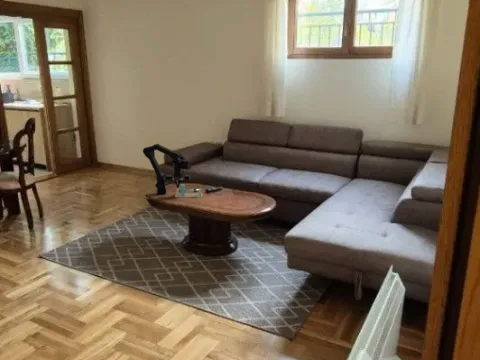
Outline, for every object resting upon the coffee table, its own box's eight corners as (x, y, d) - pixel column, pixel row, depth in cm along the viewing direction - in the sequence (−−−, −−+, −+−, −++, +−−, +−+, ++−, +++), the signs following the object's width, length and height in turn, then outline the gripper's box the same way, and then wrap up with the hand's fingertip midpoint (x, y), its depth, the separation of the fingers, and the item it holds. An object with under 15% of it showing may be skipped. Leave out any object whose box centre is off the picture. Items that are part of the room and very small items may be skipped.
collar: (180, 194, 320) (180, 186, 318) (180, 192, 325) (180, 184, 323) (184, 194, 320) (184, 186, 318) (184, 192, 325) (184, 184, 323)
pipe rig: (175, 197, 319) (174, 190, 317) (175, 194, 326) (175, 187, 325) (202, 197, 320) (202, 190, 319) (202, 194, 328) (202, 187, 326)
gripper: (163, 171, 309) (164, 191, 313) (189, 171, 310) (189, 191, 314) (165, 167, 319) (166, 187, 323) (189, 167, 321) (190, 187, 325)
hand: (178, 188), depth 321 cm, fingers closed
